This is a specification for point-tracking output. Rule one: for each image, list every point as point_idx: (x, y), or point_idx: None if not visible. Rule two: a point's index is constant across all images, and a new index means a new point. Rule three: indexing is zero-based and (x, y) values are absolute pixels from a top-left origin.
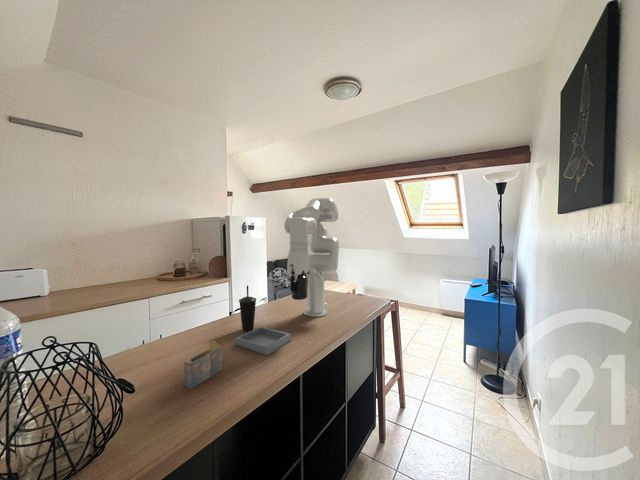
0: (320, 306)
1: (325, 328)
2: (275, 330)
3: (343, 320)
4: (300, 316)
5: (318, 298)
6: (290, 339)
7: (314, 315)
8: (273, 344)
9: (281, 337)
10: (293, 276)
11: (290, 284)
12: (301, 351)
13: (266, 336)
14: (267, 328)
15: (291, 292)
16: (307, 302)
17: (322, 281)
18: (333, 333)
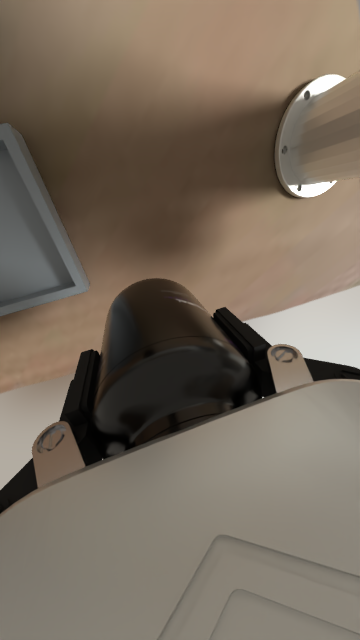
0: (326, 180)
1: (219, 281)
2: (53, 227)
3: (289, 272)
4: (258, 117)
5: (356, 169)
6: (89, 285)
7: (280, 177)
8: (2, 315)
9: (46, 295)
10: (119, 440)
11: (71, 388)
12: (83, 344)
13: (24, 201)
14: (29, 179)
15: (110, 315)
16: (335, 102)
17: None
18: None
